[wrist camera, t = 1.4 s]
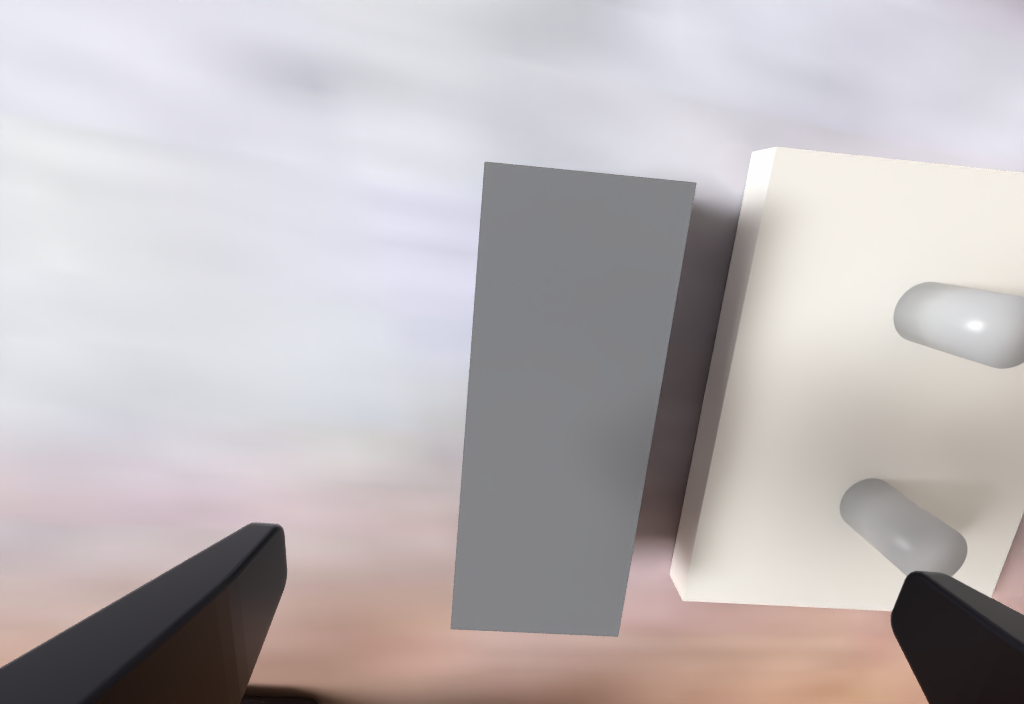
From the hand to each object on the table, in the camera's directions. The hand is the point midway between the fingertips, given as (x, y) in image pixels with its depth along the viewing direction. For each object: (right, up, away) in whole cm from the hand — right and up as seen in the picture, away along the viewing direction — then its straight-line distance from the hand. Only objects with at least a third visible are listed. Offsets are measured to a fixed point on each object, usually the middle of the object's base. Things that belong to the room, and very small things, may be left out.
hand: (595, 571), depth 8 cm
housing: (0, +2, +11) cm, 11 cm away
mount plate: (+12, +1, +12) cm, 17 cm away
